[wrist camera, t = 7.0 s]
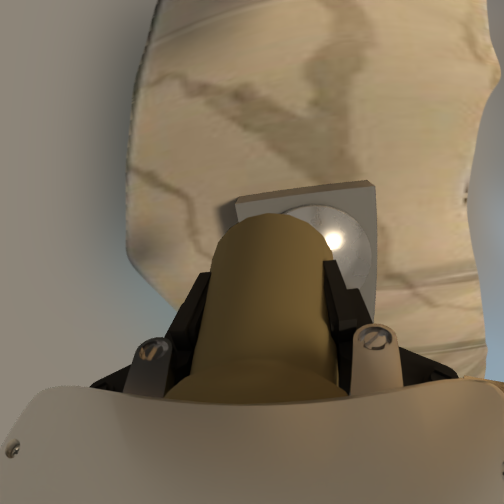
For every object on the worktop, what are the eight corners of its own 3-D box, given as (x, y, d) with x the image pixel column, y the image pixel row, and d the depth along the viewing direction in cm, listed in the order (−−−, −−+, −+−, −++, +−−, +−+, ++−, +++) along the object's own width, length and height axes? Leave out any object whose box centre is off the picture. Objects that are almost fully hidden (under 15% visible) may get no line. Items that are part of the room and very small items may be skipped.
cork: (190, 241, 13) (51, 447, 3) (310, 192, 12) (401, 451, 2) (243, 333, 15) (204, 529, 5) (348, 301, 14) (398, 514, 4)
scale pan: (246, 212, 27) (245, 215, 26) (367, 197, 25) (369, 199, 24) (266, 311, 32) (265, 316, 31) (367, 298, 30) (370, 303, 29)
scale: (239, 196, 30) (213, 239, 19) (366, 180, 28) (413, 214, 17) (269, 340, 38) (262, 410, 27) (366, 328, 36) (387, 395, 25)
